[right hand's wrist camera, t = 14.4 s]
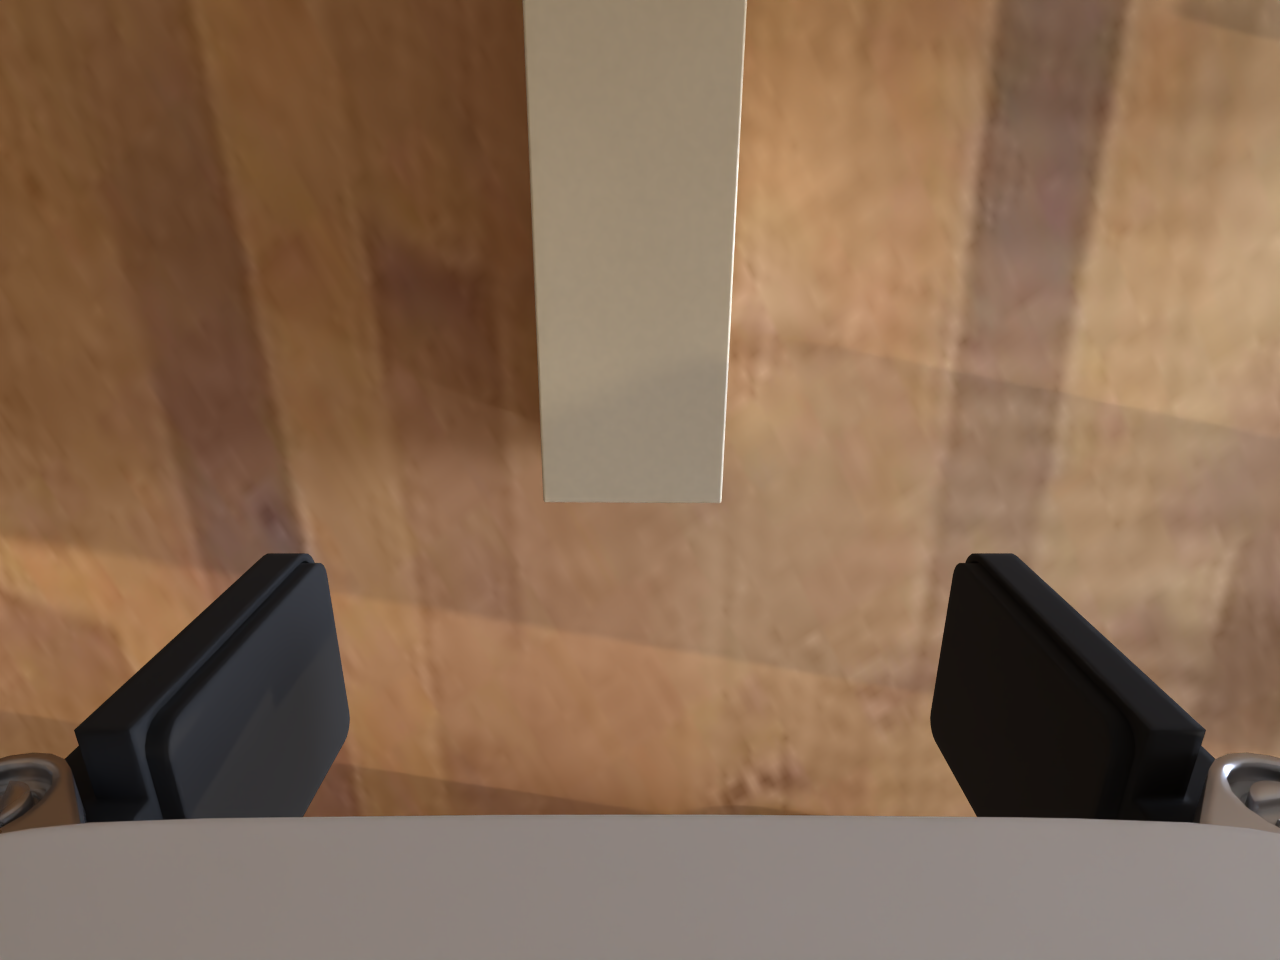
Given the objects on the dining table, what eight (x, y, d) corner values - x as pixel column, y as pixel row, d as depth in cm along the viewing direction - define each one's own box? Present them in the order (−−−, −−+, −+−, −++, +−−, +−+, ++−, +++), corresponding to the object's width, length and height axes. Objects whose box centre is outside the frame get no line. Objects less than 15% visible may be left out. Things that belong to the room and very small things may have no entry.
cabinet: (546, -136, 26) (510, -270, 18) (725, -134, 26) (761, -267, 19) (563, 435, 33) (543, 503, 26) (702, 435, 33) (721, 504, 26)
